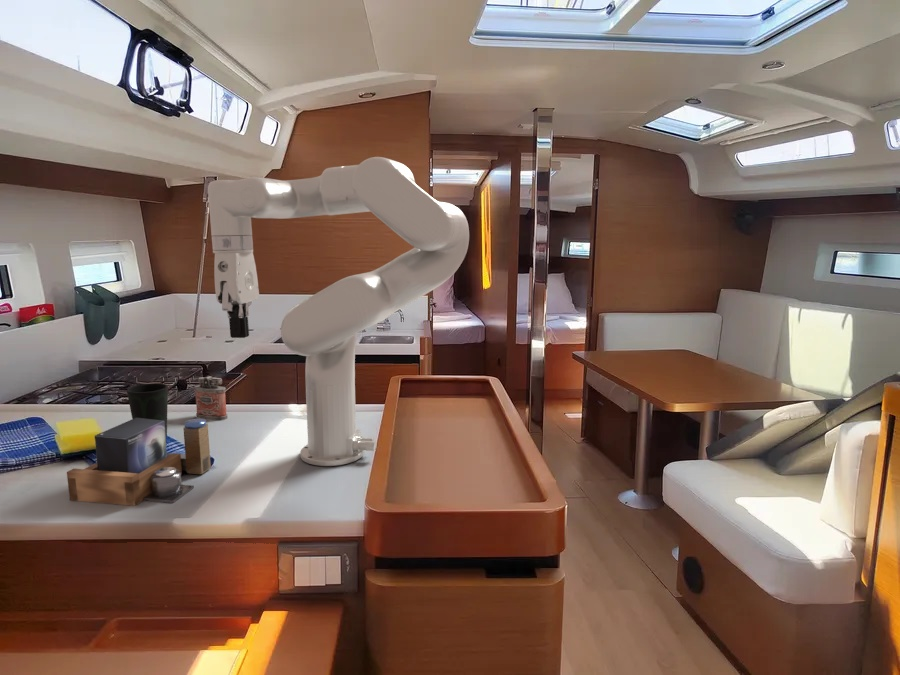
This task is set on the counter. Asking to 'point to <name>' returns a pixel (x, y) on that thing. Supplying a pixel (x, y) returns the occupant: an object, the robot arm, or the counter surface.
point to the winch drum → (167, 486)
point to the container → (195, 447)
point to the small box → (131, 446)
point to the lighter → (210, 399)
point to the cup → (149, 402)
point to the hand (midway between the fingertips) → (239, 336)
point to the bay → (115, 483)
